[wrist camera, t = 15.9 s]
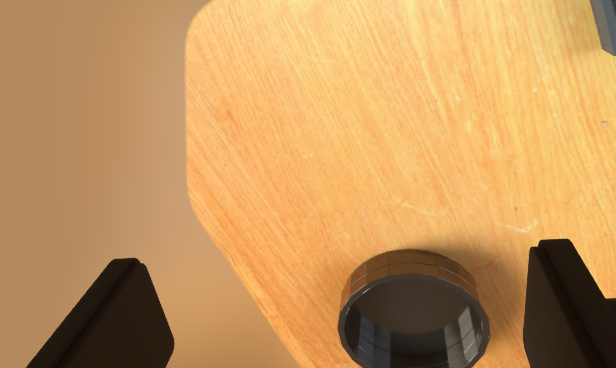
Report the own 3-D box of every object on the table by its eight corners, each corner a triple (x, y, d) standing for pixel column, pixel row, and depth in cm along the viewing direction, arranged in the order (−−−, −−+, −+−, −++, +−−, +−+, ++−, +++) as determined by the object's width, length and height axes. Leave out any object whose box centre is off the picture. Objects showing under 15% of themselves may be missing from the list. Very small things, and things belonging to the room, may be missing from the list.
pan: (320, 323, 48) (315, 350, 45) (379, 227, 42) (378, 250, 39) (437, 373, 49) (440, 402, 46) (512, 285, 43) (521, 313, 40)
